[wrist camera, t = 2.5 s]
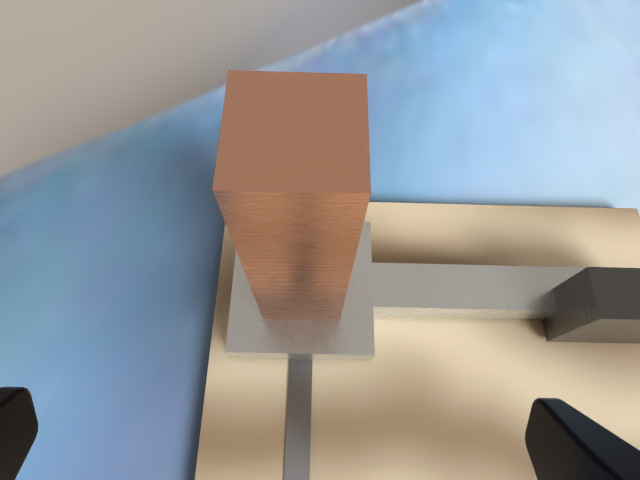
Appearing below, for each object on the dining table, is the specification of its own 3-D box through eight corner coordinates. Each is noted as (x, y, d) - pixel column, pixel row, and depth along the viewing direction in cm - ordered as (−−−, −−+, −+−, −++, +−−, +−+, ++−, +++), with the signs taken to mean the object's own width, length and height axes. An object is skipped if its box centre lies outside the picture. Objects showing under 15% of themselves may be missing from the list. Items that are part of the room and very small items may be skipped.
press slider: (651, 367, 19) (1079, 274, 8) (230, 357, 19) (128, 252, 8) (615, 240, 22) (911, 47, 11) (243, 231, 21) (177, 25, 11)
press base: (816, 857, 14) (1134, 1118, 9) (157, 850, 14) (58, 1115, 8) (624, 217, 24) (718, 150, 18) (231, 207, 23) (207, 137, 18)
